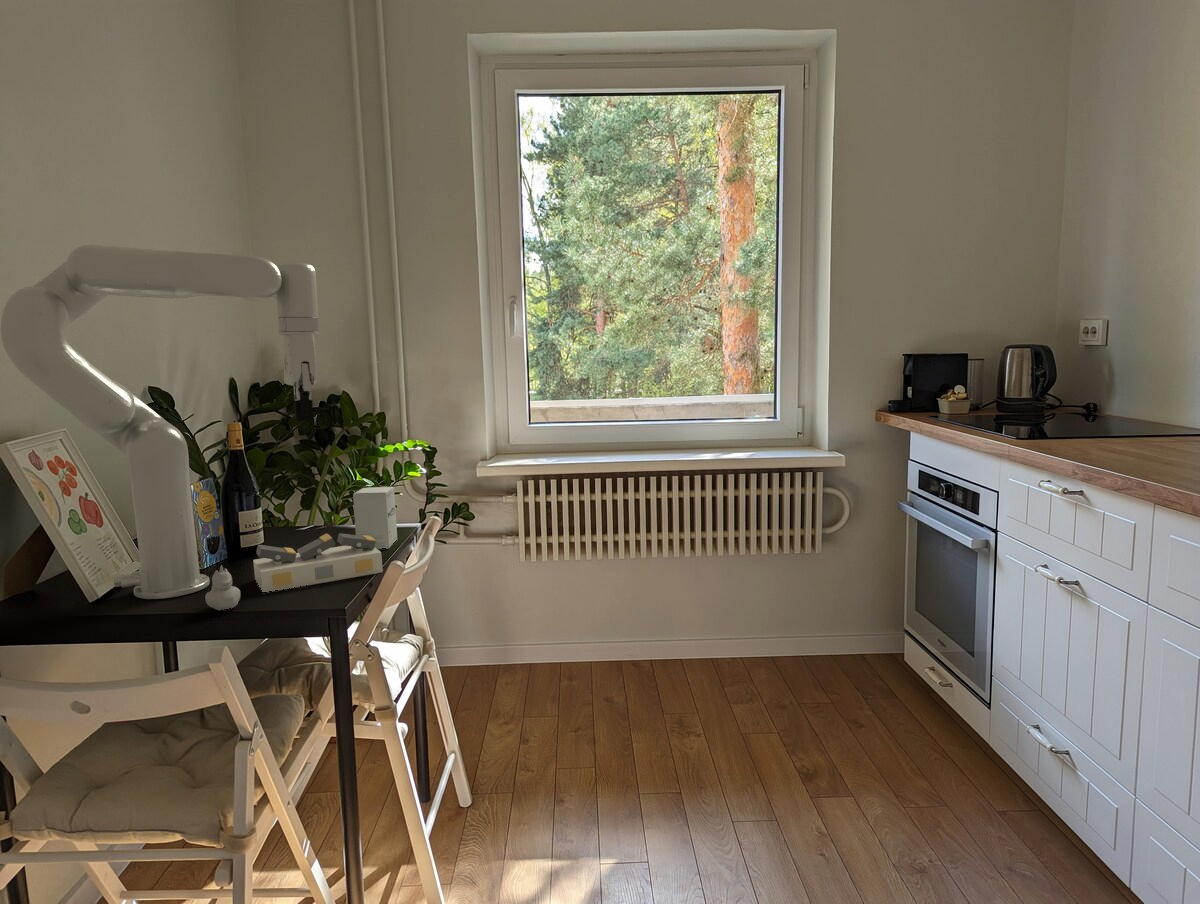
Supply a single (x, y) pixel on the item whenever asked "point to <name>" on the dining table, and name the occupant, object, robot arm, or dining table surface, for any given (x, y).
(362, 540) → the rocker
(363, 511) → the supplement box
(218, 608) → the rubber duck
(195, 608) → the dining table surface
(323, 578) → the switch console
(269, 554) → the rocker
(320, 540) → the rocker
